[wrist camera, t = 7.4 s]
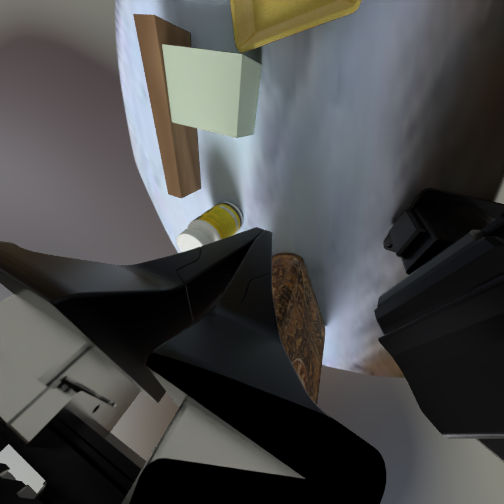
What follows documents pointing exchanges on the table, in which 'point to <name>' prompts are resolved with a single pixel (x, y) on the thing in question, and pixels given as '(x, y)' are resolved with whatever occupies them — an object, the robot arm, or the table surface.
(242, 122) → the block
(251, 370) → the robot arm
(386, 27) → the table surface
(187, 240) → the supplement bottle
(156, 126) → the board
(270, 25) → the yellow tray
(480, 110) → the table surface
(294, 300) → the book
